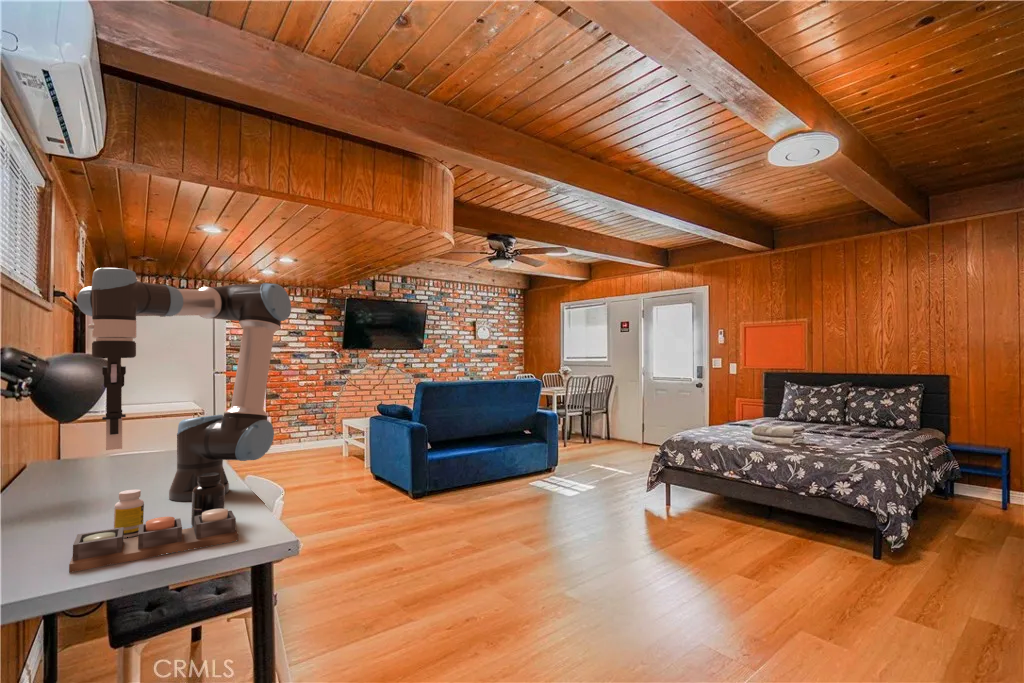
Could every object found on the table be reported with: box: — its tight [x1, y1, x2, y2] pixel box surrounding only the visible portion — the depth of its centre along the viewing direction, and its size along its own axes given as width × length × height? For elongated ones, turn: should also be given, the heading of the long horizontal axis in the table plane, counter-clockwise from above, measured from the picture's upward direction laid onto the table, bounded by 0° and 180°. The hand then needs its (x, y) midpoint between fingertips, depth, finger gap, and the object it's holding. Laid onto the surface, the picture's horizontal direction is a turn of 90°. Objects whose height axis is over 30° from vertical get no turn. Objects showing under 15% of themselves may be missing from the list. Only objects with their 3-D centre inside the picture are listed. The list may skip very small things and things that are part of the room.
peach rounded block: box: [202, 508, 229, 523], centre depth 112 cm, size 5×5×2 cm
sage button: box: [83, 532, 115, 542], centre depth 101 cm, size 5×5×2 cm
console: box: [68, 510, 239, 573], centre depth 107 cm, size 28×11×4 cm, turn 126°
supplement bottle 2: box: [190, 472, 226, 528], centre depth 122 cm, size 7×7×12 cm
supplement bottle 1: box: [113, 489, 145, 539], centre depth 115 cm, size 5×5×10 cm
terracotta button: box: [145, 516, 176, 532], centre depth 107 cm, size 5×5×2 cm
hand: (114, 448), depth 109 cm, fingers closed
